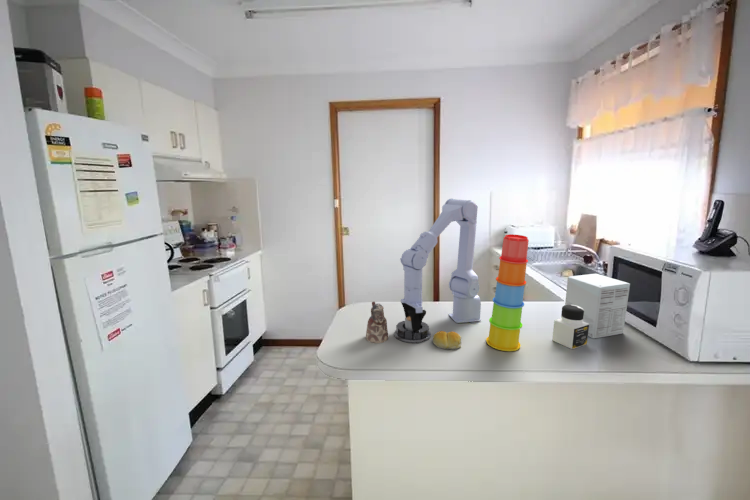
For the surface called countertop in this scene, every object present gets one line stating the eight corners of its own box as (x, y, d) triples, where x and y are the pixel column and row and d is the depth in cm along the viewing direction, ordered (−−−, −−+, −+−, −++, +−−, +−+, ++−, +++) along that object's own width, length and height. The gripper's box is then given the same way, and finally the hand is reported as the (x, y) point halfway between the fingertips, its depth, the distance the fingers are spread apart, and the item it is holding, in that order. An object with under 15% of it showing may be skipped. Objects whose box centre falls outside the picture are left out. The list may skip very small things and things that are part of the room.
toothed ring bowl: (424, 326, 130) (424, 318, 129) (435, 341, 118) (435, 332, 118) (390, 329, 128) (390, 320, 127) (399, 344, 116) (399, 335, 116)
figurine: (370, 344, 117) (370, 308, 114) (363, 335, 123) (362, 301, 121) (391, 340, 119) (391, 305, 117) (382, 332, 126) (382, 298, 123)
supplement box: (624, 333, 123) (631, 283, 119) (593, 339, 119) (600, 287, 115) (590, 319, 135) (596, 272, 132) (561, 323, 132) (566, 276, 128)
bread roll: (433, 337, 122) (434, 326, 121) (461, 340, 120) (462, 328, 119) (431, 348, 114) (431, 336, 113) (461, 352, 112) (461, 339, 111)
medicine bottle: (572, 349, 112) (576, 312, 110) (551, 340, 118) (555, 305, 116) (587, 344, 115) (591, 308, 113) (566, 336, 122) (570, 301, 119)
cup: (417, 329, 126) (417, 314, 125) (422, 335, 121) (422, 320, 120) (403, 331, 125) (403, 316, 124) (407, 337, 120) (407, 321, 119)
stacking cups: (505, 335, 123) (513, 231, 115) (527, 348, 113) (537, 237, 106) (479, 339, 119) (485, 233, 112) (499, 354, 110) (507, 239, 103)
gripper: (395, 280, 126) (395, 318, 129) (407, 294, 112) (406, 336, 115) (415, 279, 127) (415, 316, 130) (429, 292, 113) (428, 334, 116)
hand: (412, 325), depth 123 cm, fingers open, 7 cm apart
